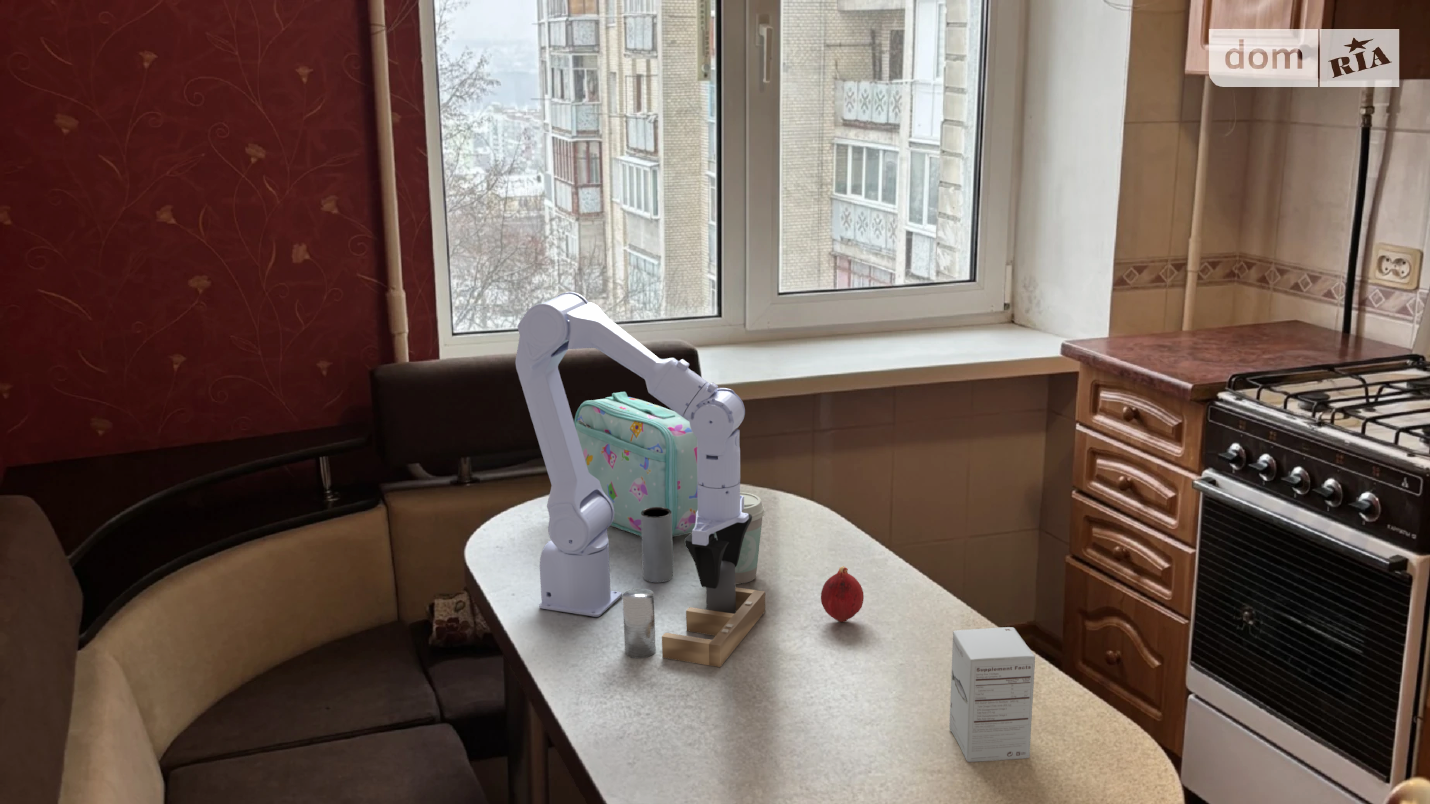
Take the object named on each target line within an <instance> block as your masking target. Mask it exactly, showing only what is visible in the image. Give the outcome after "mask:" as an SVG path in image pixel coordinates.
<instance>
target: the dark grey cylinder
mask: <svg viewBox="0 0 1430 804" xmlns="http://www.w3.org/2000/svg"><path fill="white" fill-rule="evenodd" d="M735 587H736V584H735V565H734V564H733V563H731V562H728V561H722V562H721V568H720V577H719V583H718V586H717V588H715V589H713V588H707V587H705V597H706V598H705V599H706V602H705V603H706V610H712V611H719V612H725V613H732V614H735V613H736V612H737V611H736V593H735Z"/></svg>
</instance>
